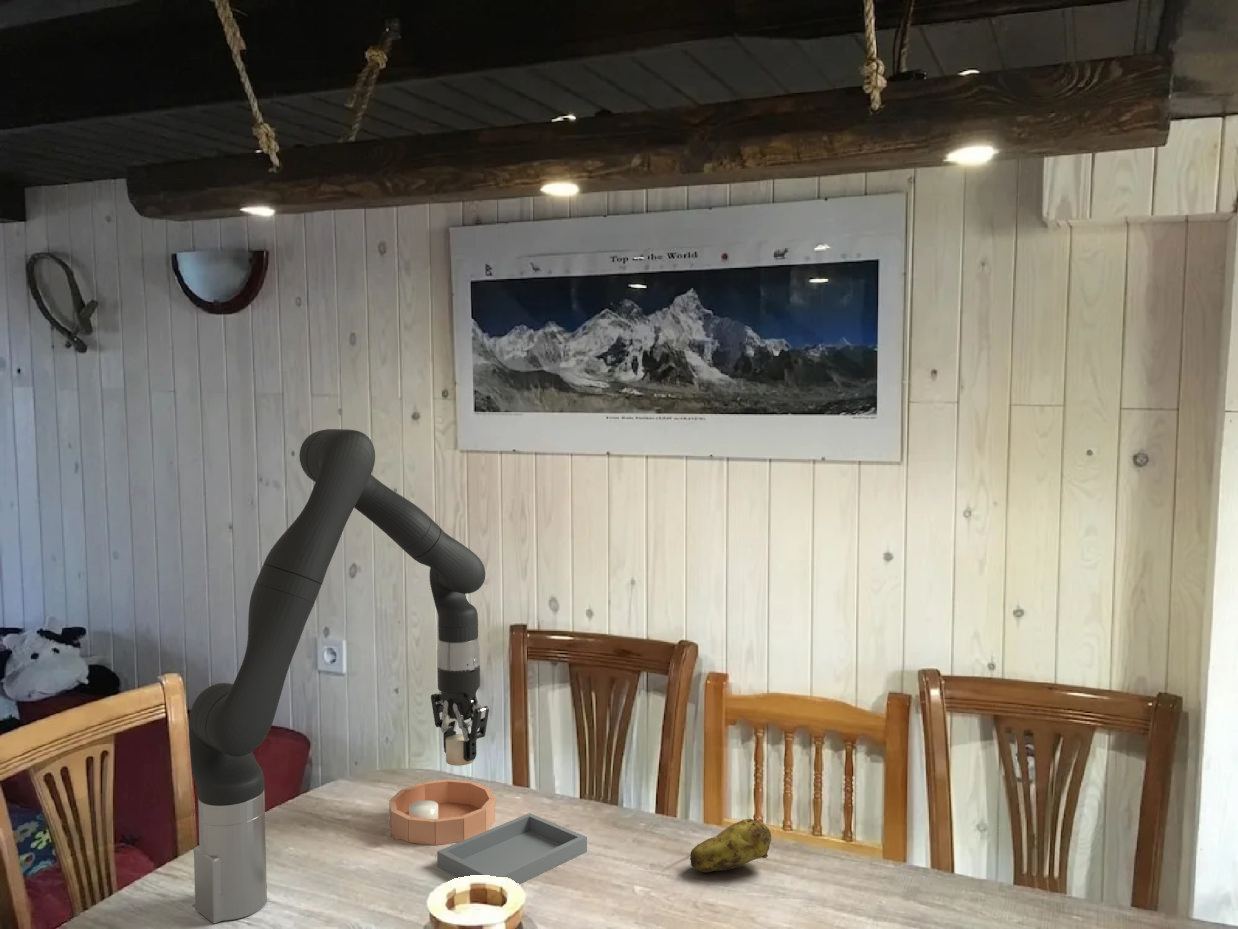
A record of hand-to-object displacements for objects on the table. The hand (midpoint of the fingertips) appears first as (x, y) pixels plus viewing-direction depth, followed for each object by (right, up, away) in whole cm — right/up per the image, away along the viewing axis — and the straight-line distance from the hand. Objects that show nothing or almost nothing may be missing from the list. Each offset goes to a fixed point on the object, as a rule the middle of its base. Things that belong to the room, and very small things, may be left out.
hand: (460, 755), depth 179 cm
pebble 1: (-6, -11, -5) cm, 13 cm away
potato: (+47, -13, -18) cm, 52 cm away
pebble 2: (0, -1, 0) cm, 1 cm away
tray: (+11, -13, -16) cm, 24 cm away
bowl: (-3, -12, -2) cm, 12 cm away
